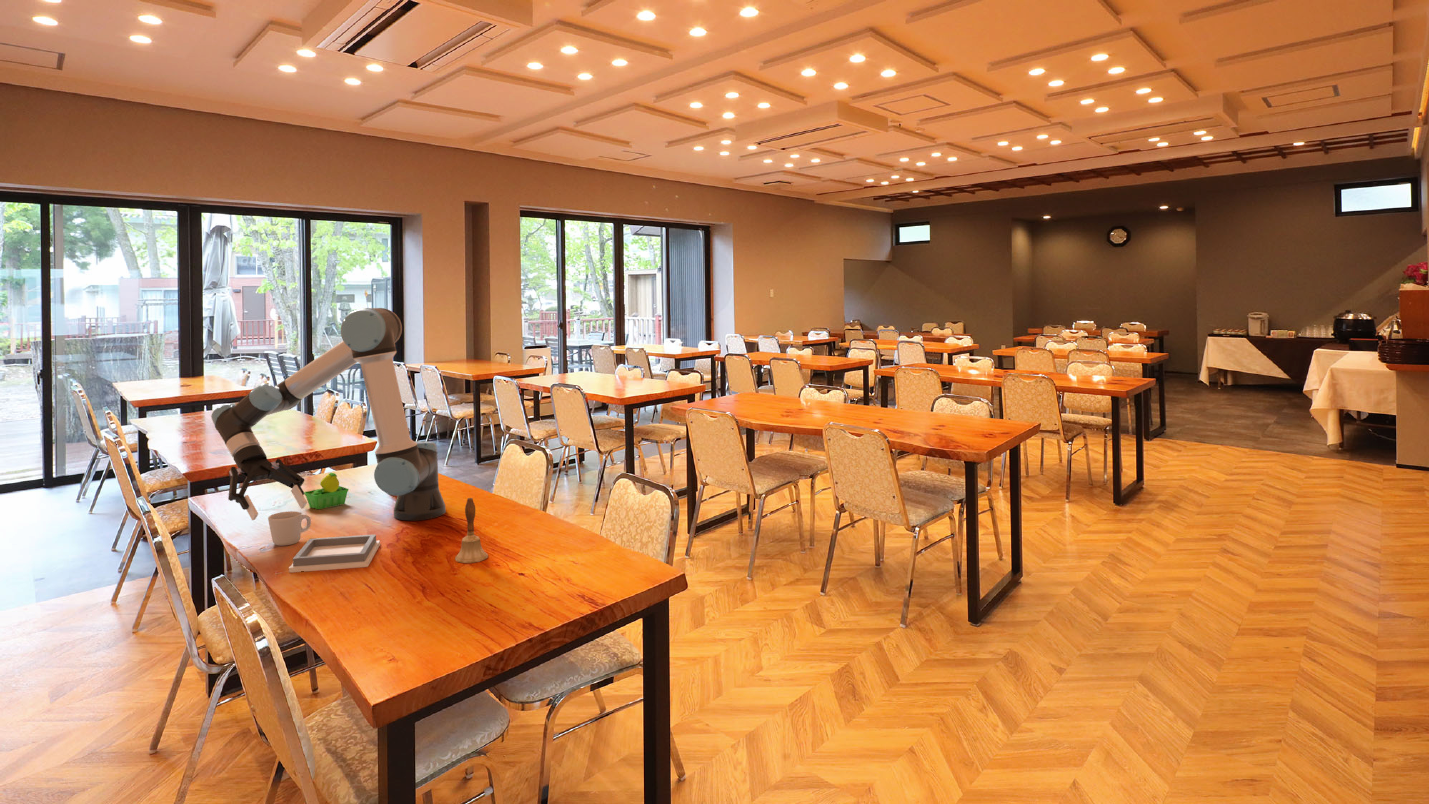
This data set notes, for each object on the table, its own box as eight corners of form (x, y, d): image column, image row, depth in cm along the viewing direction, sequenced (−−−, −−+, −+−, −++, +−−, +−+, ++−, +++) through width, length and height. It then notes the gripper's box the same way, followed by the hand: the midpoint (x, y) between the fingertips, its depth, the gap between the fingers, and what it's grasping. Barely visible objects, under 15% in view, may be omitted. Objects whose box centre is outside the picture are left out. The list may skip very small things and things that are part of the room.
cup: (303, 534, 220) (302, 507, 219) (318, 539, 216) (317, 511, 215) (264, 544, 211) (262, 516, 210) (279, 549, 207) (277, 521, 206)
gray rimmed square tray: (380, 544, 212) (379, 533, 211) (367, 566, 194) (367, 554, 194) (308, 549, 207) (307, 537, 207) (289, 572, 190) (288, 560, 190)
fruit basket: (338, 500, 257) (336, 467, 256) (352, 504, 252) (350, 470, 251) (303, 507, 248) (301, 473, 247) (318, 512, 243) (315, 477, 242)
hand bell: (459, 553, 205) (456, 494, 203) (491, 552, 206) (489, 494, 204) (451, 563, 197) (448, 503, 195) (484, 563, 198) (482, 502, 195)
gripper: (285, 452, 231) (318, 508, 226) (195, 468, 210) (228, 530, 205) (294, 437, 228) (328, 493, 222) (203, 451, 207) (238, 514, 201)
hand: (280, 511), depth 213 cm, fingers open, 13 cm apart
